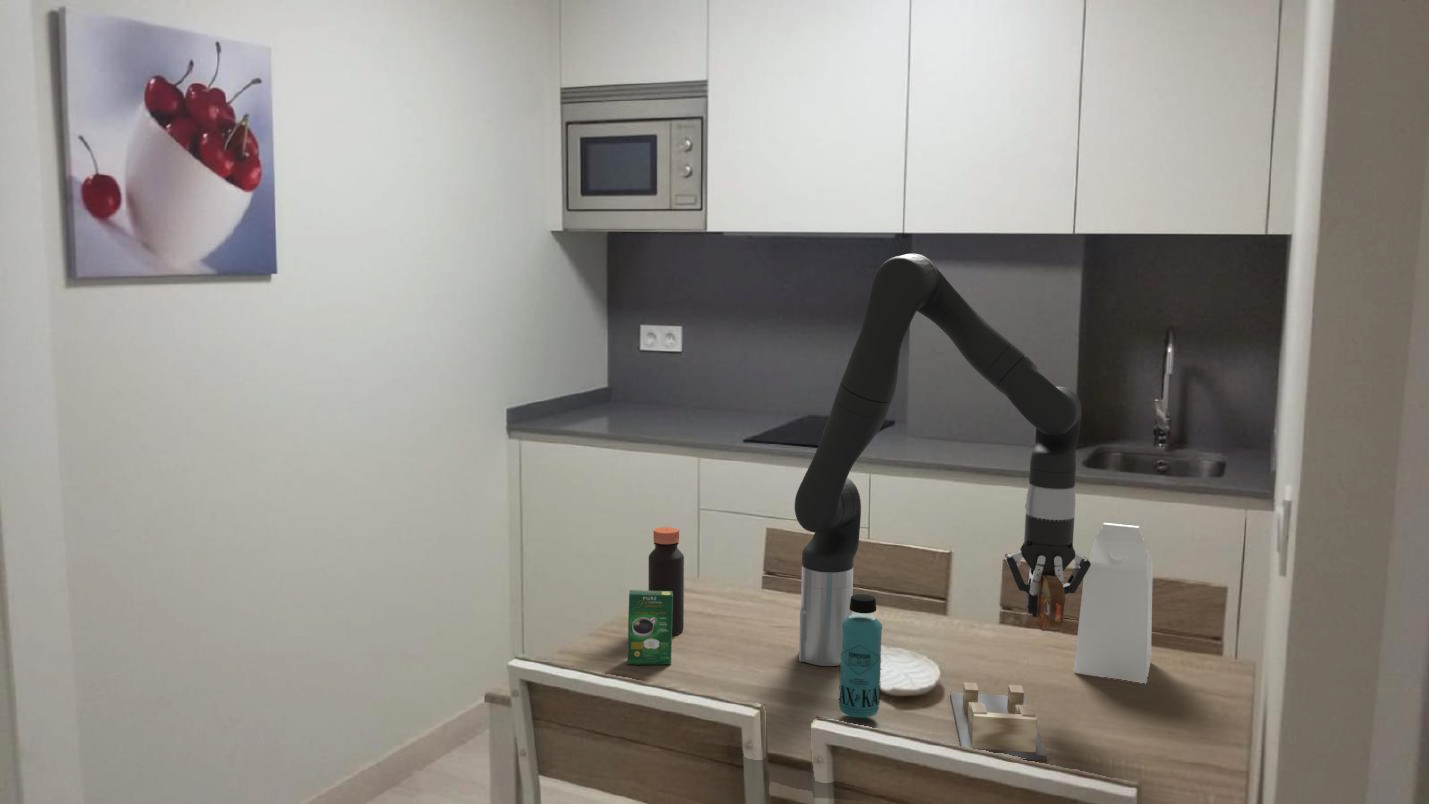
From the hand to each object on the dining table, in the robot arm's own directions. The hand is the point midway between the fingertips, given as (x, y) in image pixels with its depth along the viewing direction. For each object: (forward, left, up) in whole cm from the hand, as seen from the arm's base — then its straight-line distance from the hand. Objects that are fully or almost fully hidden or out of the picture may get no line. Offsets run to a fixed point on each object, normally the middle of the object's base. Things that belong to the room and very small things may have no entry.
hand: (1044, 615), depth 181 cm
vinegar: (-66, +25, -15) cm, 73 cm away
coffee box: (-66, +8, -15) cm, 69 cm away
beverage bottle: (-29, -11, -15) cm, 35 cm away
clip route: (-8, -11, -15) cm, 20 cm away
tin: (0, 0, -1) cm, 1 cm away
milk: (+16, +18, -15) cm, 28 cm away
